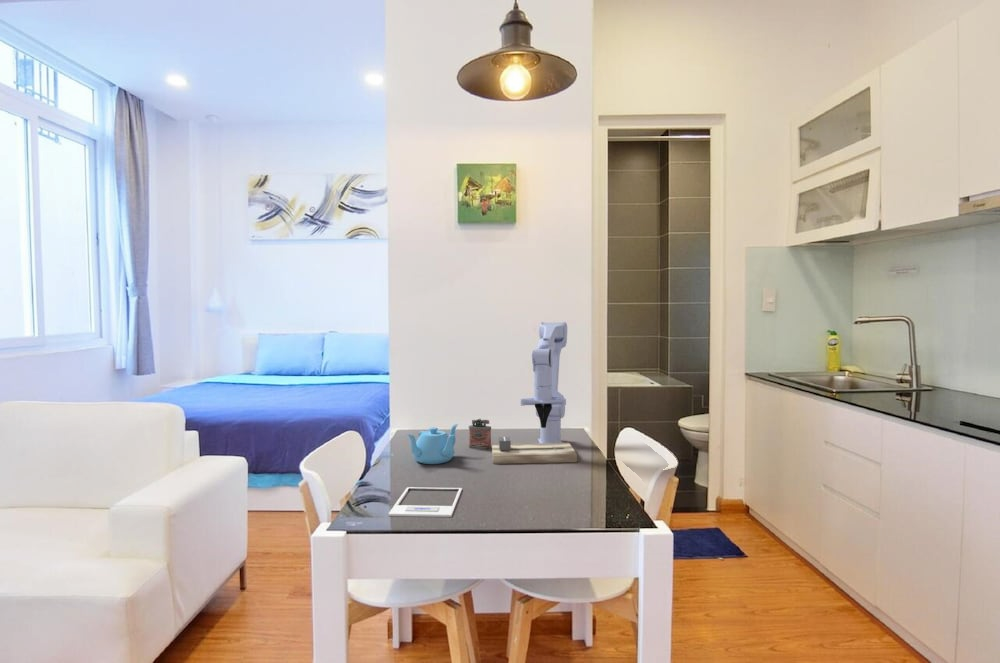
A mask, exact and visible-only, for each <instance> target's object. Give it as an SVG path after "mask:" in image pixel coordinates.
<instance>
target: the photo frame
mask: <svg viewBox="0 0 1000 663" xmlns="http://www.w3.org/2000/svg"><path fill="white" fill-rule="evenodd" d="M409 490H441V491H442V490H444V491H445V490H447V491H449V490H451V491H456V490H457V492H456V496H455V498H454V501H453V503H452V505H417V504H416V505H411V504H410V505H408V504H402V505H401V502H402V501H403V499H404V498H405V497H406V495H407V494H408V493H409ZM462 490H463V488H462V487H427V486H426V487H418V486H416V487H415V486H414V487H413V486H411V487H410V486H407V487H406V488H405V489H404V491H403V492H402V494H401V495H400V496H399V498H398V499H397V501H395V503H394V505H393V506H392V508H391V509H390V510H389V511H388V515H387V516H388V517H423V518H424V517H432V518H434V517H435V518H436V517H437V518H452V516H453V514H454V512H455V509H456V506H457V503H458V500H459V498H460V496H461V493H462Z"/></svg>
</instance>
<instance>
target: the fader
mask: <svg viewBox="0 0 1000 663" xmlns="http://www.w3.org/2000/svg"><path fill="white" fill-rule="evenodd" d="M498 444H499V450H511V444H512V442H511V438H510V436H499V437H498Z"/></svg>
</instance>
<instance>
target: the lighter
mask: <svg viewBox="0 0 1000 663" xmlns="http://www.w3.org/2000/svg"><path fill="white" fill-rule="evenodd" d="M471 424H472V425H468V431H469V432H468V433H469V435H468V436H469V444H468V448H469V449H472V450H489V451H490V450H492V431H491V430H492V426H490V425H489V424H490V420H489V419H481V418H478V419H471Z"/></svg>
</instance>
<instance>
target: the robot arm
mask: <svg viewBox="0 0 1000 663" xmlns="http://www.w3.org/2000/svg"><path fill="white" fill-rule="evenodd" d="M538 334H539V341H538V343H537V346H536V348H535V349H532V352H531V353H532V354H531V362H532V371H533V387H534V390H533V391H534V392H533V393H534V395H533V397H532V398H531V397H529V398H520V406H534V407H535V414H536V416H537V418H538V419H539V422H540V429H539V430H540V432H539V433H540V434H539V436H540V438H537V440H538V443H563V441H562V438H561V437H562V427H561V425H562V419H564V418H565V416H566V415H565V414H566V413H565V412H566V405H567V399H566V398H565V396H564V395H563V394H562V393H561V392H560V391H558V388H559V376H560V375H559V372H560V358H561V351H562V349H564V348H566V347H567V344H568V342H567V341H568V324H567V322H565V321H563V322H560V321H559V322H558V321H557V322H555V321H554V322H547V321H546V322H543V321H541V322H540V323H539V326H538Z"/></svg>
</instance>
